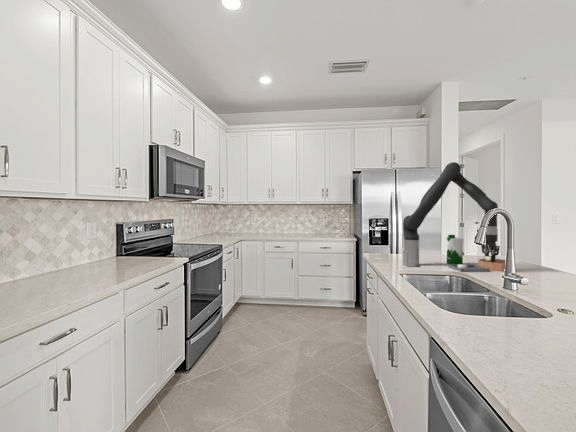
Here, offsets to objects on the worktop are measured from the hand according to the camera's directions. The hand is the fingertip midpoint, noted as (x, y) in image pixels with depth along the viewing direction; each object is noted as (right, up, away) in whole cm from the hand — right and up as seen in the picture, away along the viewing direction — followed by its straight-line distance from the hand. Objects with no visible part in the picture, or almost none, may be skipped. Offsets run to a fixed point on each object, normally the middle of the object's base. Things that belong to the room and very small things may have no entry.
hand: (490, 261), depth 191 cm
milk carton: (-12, -5, +18) cm, 22 cm away
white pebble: (-18, -5, -2) cm, 19 cm away
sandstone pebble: (0, 0, 0) cm, 0 cm away
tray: (-15, -6, -2) cm, 16 cm away
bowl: (+3, -5, 0) cm, 6 cm away
